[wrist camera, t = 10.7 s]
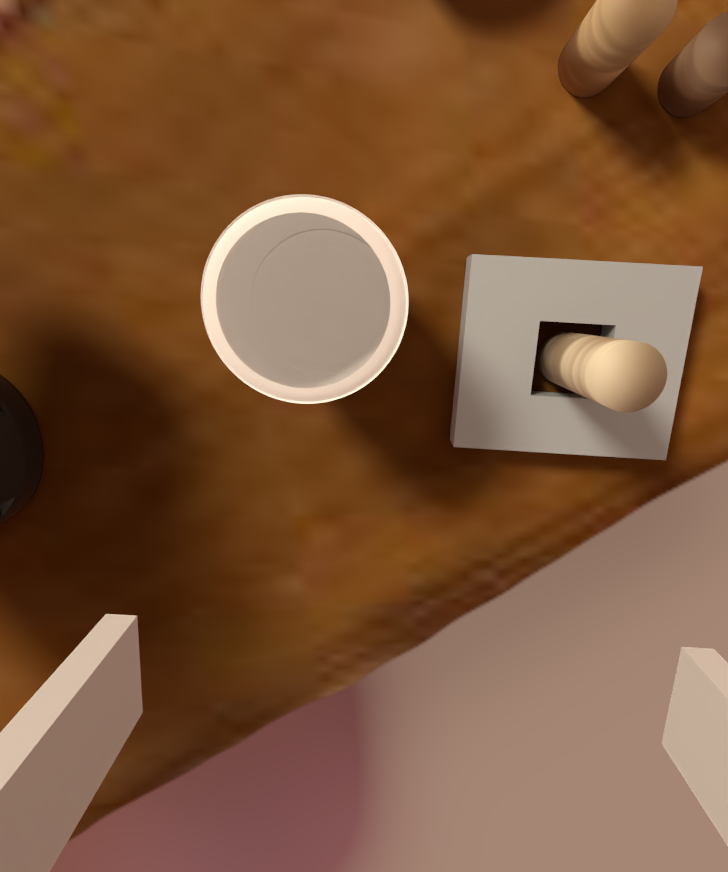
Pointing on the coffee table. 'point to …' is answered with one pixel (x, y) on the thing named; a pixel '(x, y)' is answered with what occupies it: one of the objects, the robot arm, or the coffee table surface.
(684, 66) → the walnut pin
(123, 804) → the coffee table surface
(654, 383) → the birch pin
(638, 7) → the oak pin
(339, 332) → the jar
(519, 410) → the hole plate
